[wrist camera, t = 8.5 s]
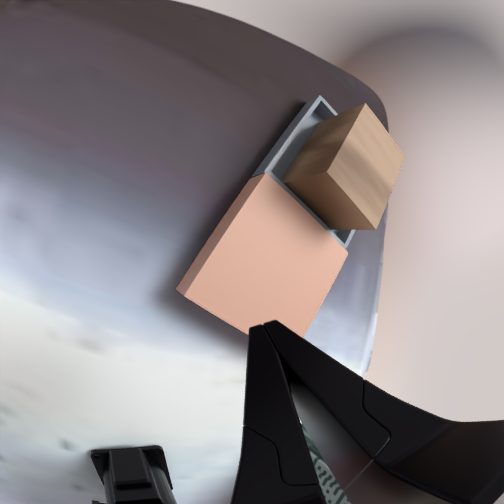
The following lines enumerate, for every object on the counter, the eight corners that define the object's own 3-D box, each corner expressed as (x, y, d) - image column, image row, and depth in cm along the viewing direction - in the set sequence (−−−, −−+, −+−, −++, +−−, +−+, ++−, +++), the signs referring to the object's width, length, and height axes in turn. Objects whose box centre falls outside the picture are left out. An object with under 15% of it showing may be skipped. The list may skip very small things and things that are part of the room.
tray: (330, 249, 26) (345, 250, 24) (251, 176, 22) (263, 171, 20) (368, 172, 28) (382, 169, 26) (306, 102, 24) (319, 94, 22)
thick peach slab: (273, 348, 24) (290, 358, 21) (175, 289, 20) (183, 296, 17) (329, 251, 26) (348, 252, 24) (249, 178, 22) (266, 172, 20)
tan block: (376, 229, 20) (404, 156, 21) (326, 171, 17) (365, 103, 19) (323, 229, 25) (356, 166, 27) (276, 185, 22) (318, 123, 24)
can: (312, 458, 27) (400, 522, 14) (270, 466, 25) (361, 549, 11) (329, 419, 28) (431, 480, 14) (287, 424, 25) (396, 506, 12)
